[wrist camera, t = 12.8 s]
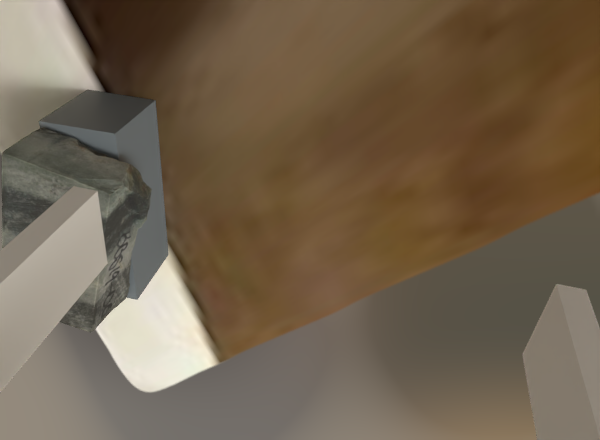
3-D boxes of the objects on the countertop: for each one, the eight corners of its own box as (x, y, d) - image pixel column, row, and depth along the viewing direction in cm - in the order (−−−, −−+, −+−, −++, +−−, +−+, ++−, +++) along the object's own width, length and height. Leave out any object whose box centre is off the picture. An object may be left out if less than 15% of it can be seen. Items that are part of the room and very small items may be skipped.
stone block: (158, 166, 39) (124, 203, 35) (135, 300, 48) (106, 343, 43) (43, 123, 39) (-5, 154, 35) (40, 264, 48) (2, 303, 43)
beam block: (89, 88, 45) (38, 121, 39) (156, 99, 44) (115, 133, 39) (113, 242, 54) (74, 286, 48) (169, 252, 53) (137, 299, 48)
